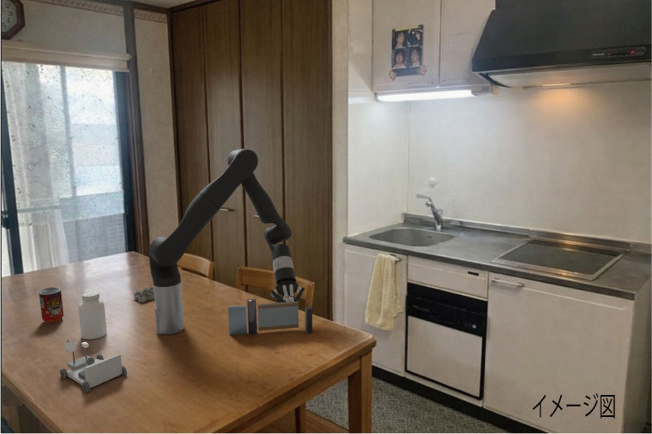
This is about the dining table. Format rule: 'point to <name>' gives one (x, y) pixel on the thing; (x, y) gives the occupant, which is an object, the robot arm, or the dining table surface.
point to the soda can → (51, 305)
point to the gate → (278, 316)
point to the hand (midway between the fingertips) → (291, 314)
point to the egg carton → (144, 294)
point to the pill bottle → (92, 316)
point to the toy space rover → (92, 368)
